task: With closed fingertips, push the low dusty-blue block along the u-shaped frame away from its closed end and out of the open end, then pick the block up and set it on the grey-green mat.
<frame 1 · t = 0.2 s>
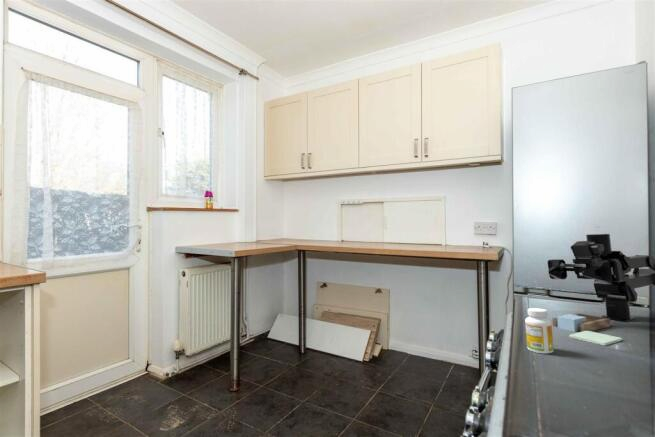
hand: (565, 272, 94), 16 cm above the countertop, tool horizontal, fingers open, 9 cm apart
u-shaped frame: (581, 325, 96), on the countertop
mat: (595, 338, 85), on the countertop
block: (572, 328, 94), on the countertop
supplement bottle: (540, 351, 78), on the countertop
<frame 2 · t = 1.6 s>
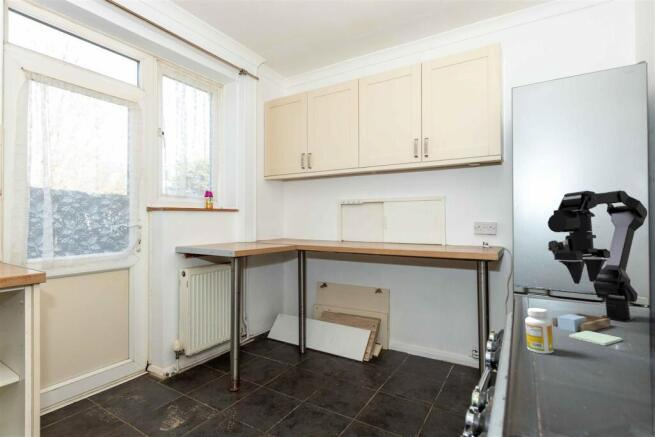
hand: (584, 282, 99), 13 cm above the countertop, tool pointing down, fingers open, 8 cm apart
nothing on the countertop moved.
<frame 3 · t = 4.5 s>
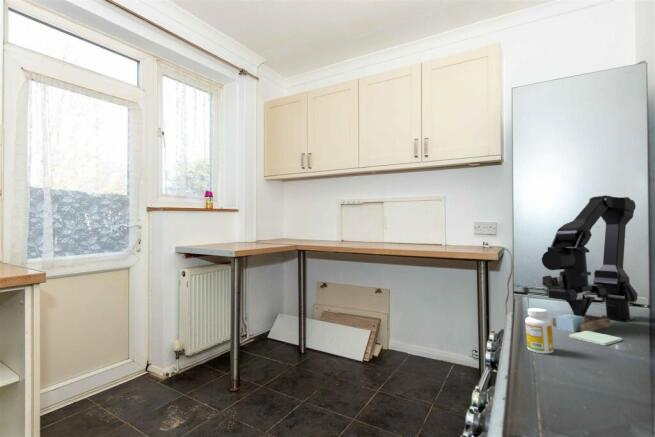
hand: (579, 320, 96), 2 cm above the countertop, tool pointing down, fingers closed
block: (570, 328, 94), on the countertop, touching gripper
everything else where it was.
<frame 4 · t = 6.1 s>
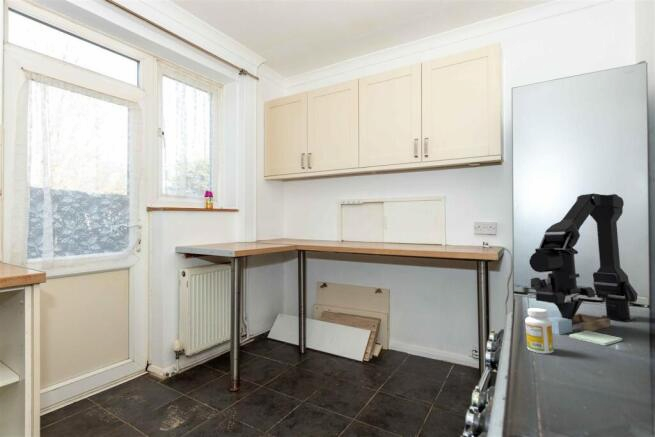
hand: (567, 323, 94), 2 cm above the countertop, tool pointing down, fingers closed
block: (557, 331, 92), on the countertop
everything else where it was.
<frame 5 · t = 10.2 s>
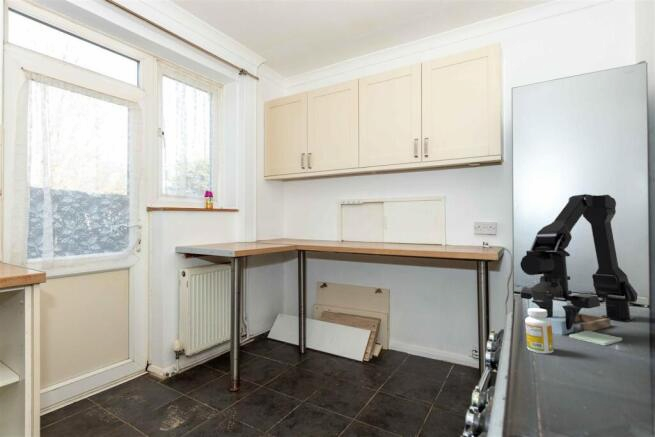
hand: (559, 327, 92), 1 cm above the countertop, tool pointing down, fingers closed on block, 5 cm apart
block: (559, 331, 92), on the countertop, touching gripper
everything else where it was.
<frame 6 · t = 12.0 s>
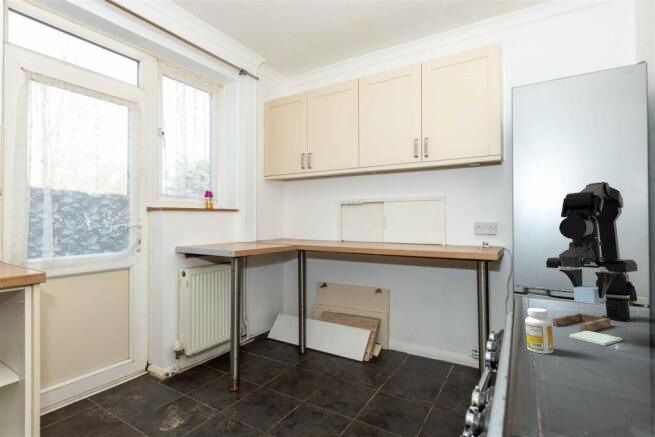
hand: (590, 296, 85), 11 cm above the countertop, tool pointing down, fingers closed on block, 5 cm apart
block: (590, 300, 85), point 10 cm above the countertop, touching gripper
everything else where it was.
when the fingers open (3 cm above the countertop, at t = 13.8 s): block drops 1 cm, resting on mat.
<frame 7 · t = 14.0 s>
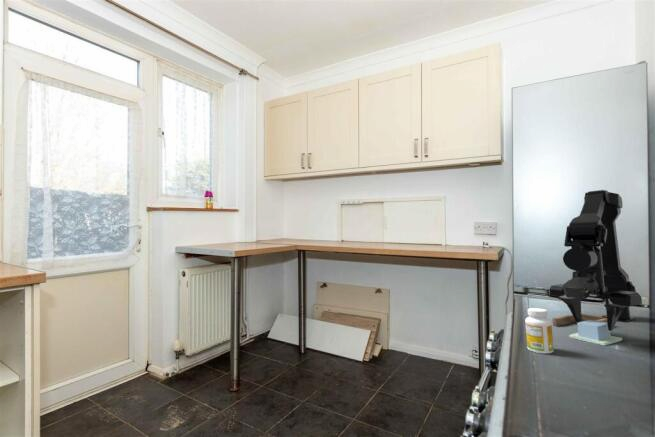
hand: (594, 327, 85), 3 cm above the countertop, tool pointing down, fingers open, 7 cm apart
block: (594, 336, 84), point 1 cm above the countertop, touching mat
everything else where it was.
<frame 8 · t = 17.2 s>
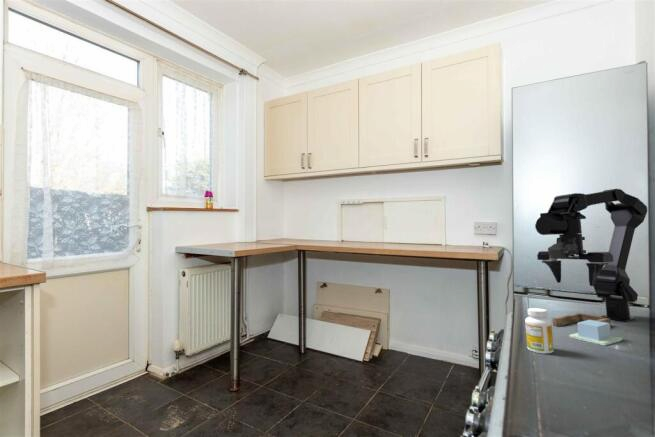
hand: (574, 284, 100), 12 cm above the countertop, tool pointing down, fingers open, 9 cm apart
nothing on the countertop moved.
at the end: block inside the target area on the mat (0.2 cm from its centre), point 0.6 cm above the mat's base; the gripper is holding nothing; block inside the target area (0.2 cm from its centre), point 0.6 cm above the countertop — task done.
